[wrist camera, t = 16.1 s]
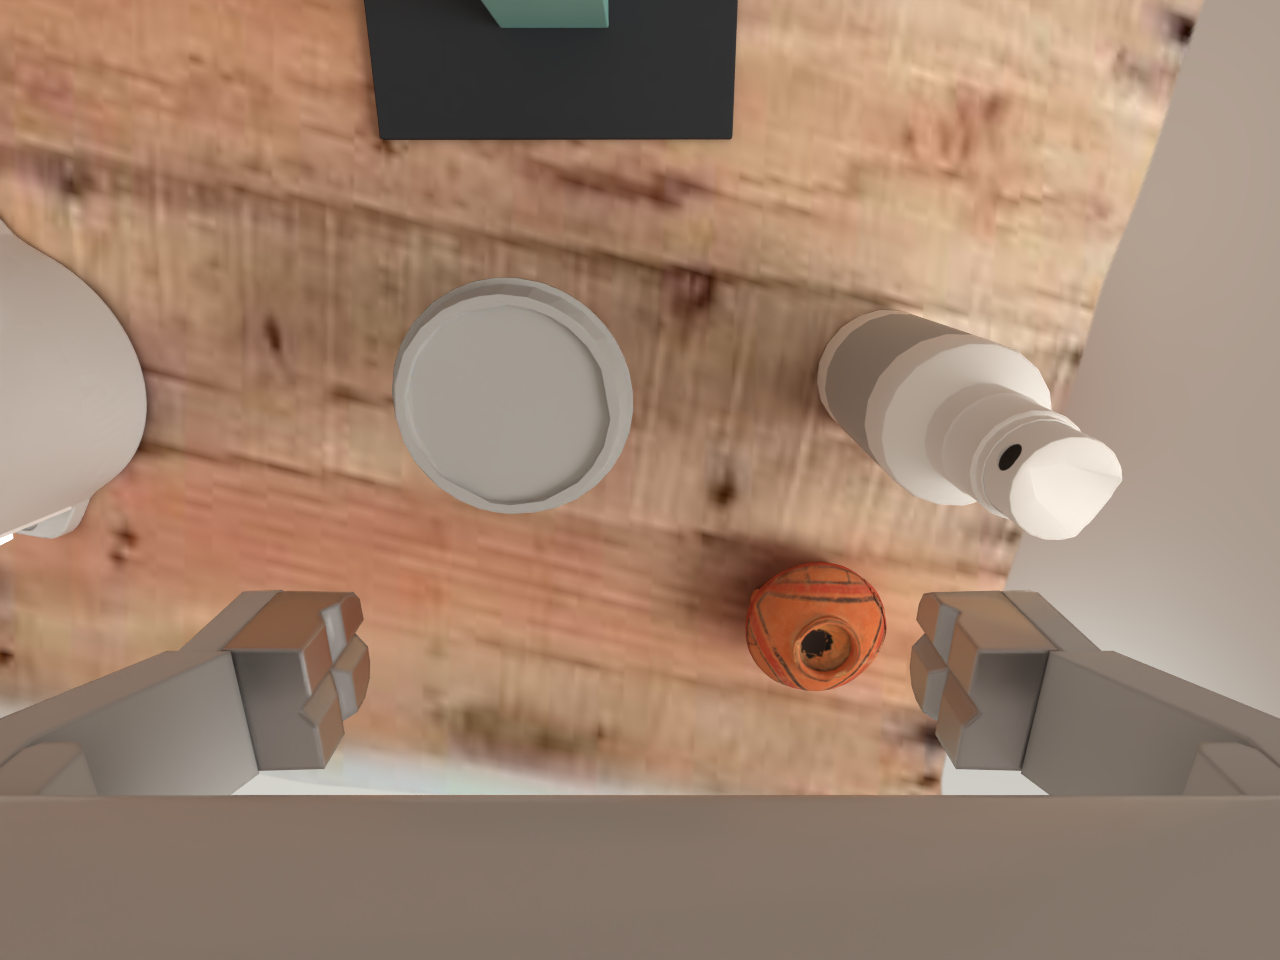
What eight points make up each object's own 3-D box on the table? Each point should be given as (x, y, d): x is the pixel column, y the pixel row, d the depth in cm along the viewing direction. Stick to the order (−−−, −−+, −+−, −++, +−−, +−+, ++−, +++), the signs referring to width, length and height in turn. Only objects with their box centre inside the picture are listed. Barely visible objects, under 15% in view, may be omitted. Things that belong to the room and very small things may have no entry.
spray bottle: (861, 284, 37) (1051, 336, 20) (966, 347, 38) (1231, 447, 21) (791, 397, 39) (907, 531, 22) (892, 453, 40) (1078, 622, 23)
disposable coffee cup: (423, 321, 37) (329, 364, 26) (575, 226, 36) (545, 228, 24) (521, 468, 40) (475, 564, 29) (666, 386, 39) (678, 453, 27)
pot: (725, 657, 44) (741, 703, 37) (748, 536, 43) (769, 560, 37) (849, 677, 44) (888, 726, 38) (875, 557, 44) (919, 585, 37)
